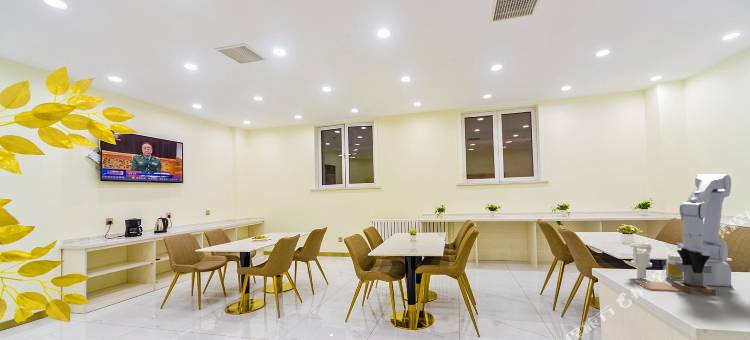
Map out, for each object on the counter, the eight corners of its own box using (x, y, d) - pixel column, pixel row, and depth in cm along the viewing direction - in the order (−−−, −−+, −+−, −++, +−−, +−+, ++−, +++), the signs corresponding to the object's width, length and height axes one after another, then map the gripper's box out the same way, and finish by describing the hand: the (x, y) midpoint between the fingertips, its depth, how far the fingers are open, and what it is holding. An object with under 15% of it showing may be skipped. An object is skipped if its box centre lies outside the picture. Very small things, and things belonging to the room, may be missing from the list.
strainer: (643, 281, 144) (642, 244, 144) (626, 276, 151) (626, 241, 151) (656, 280, 145) (656, 243, 146) (640, 275, 152) (639, 240, 153)
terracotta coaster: (663, 283, 140) (663, 282, 140) (680, 291, 131) (680, 290, 131) (635, 282, 142) (635, 280, 142) (649, 290, 132) (649, 288, 132)
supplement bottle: (686, 281, 144) (686, 257, 145) (671, 280, 146) (671, 256, 146) (677, 277, 150) (677, 254, 150) (663, 276, 151) (663, 253, 151)
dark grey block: (702, 283, 134) (702, 263, 134) (711, 287, 129) (711, 266, 130) (675, 281, 136) (675, 262, 136) (683, 285, 131) (683, 265, 131)
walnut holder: (698, 287, 136) (698, 282, 136) (716, 295, 127) (716, 289, 127) (671, 286, 138) (671, 280, 138) (687, 293, 129) (687, 287, 129)
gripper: (668, 231, 141) (668, 265, 140) (694, 237, 126) (694, 275, 126) (688, 231, 139) (689, 266, 139) (717, 238, 125) (717, 276, 125)
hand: (693, 271), depth 133 cm, fingers closed on dark grey block, 4 cm apart
